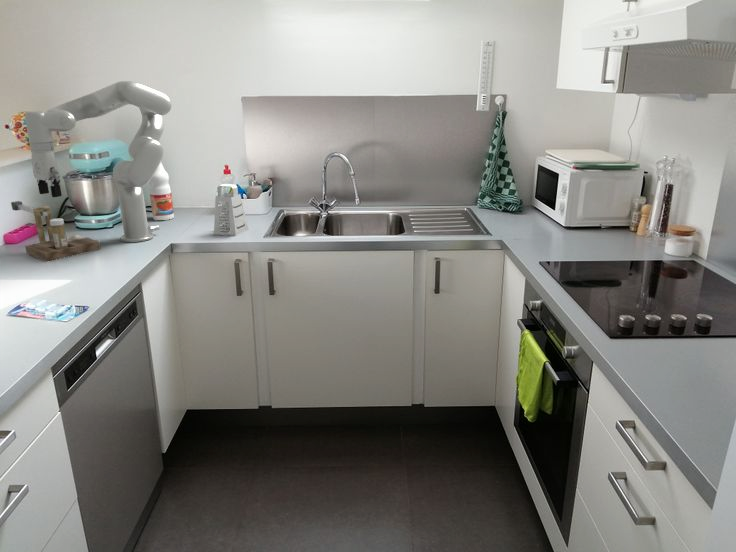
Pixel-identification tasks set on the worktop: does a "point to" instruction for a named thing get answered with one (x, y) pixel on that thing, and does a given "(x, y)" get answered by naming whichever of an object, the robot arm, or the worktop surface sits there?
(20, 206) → the bolt
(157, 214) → the fruit juice
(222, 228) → the grater
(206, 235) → the worktop surface
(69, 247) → the brown wooden frame
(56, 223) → the sprinkles bottle
